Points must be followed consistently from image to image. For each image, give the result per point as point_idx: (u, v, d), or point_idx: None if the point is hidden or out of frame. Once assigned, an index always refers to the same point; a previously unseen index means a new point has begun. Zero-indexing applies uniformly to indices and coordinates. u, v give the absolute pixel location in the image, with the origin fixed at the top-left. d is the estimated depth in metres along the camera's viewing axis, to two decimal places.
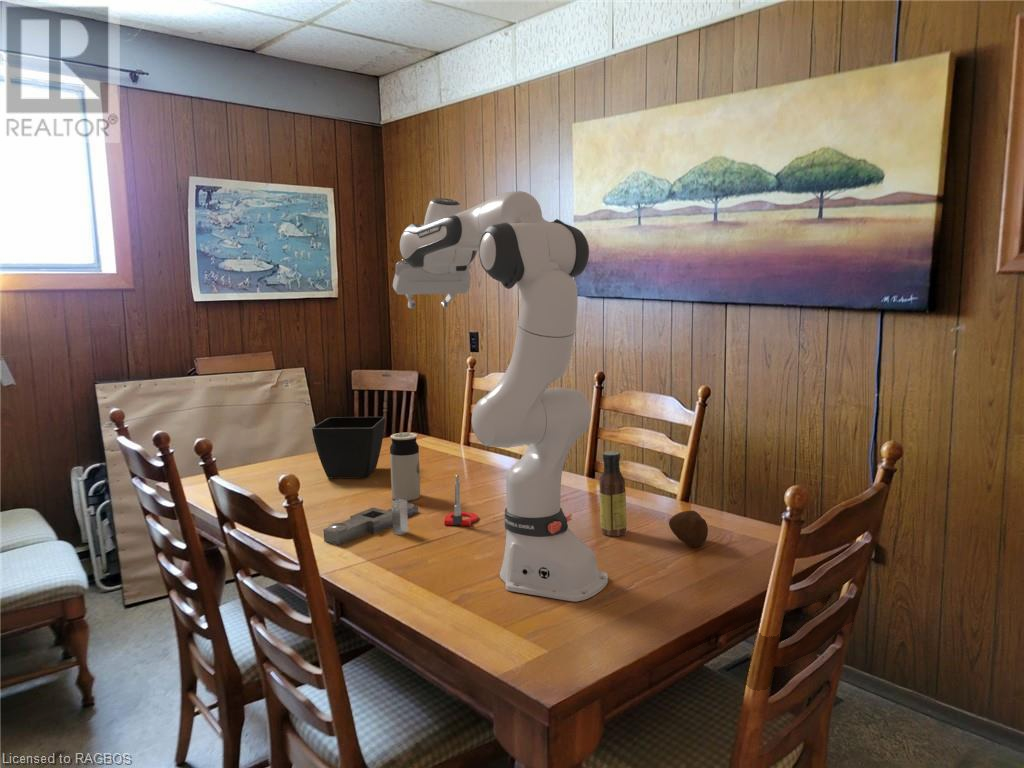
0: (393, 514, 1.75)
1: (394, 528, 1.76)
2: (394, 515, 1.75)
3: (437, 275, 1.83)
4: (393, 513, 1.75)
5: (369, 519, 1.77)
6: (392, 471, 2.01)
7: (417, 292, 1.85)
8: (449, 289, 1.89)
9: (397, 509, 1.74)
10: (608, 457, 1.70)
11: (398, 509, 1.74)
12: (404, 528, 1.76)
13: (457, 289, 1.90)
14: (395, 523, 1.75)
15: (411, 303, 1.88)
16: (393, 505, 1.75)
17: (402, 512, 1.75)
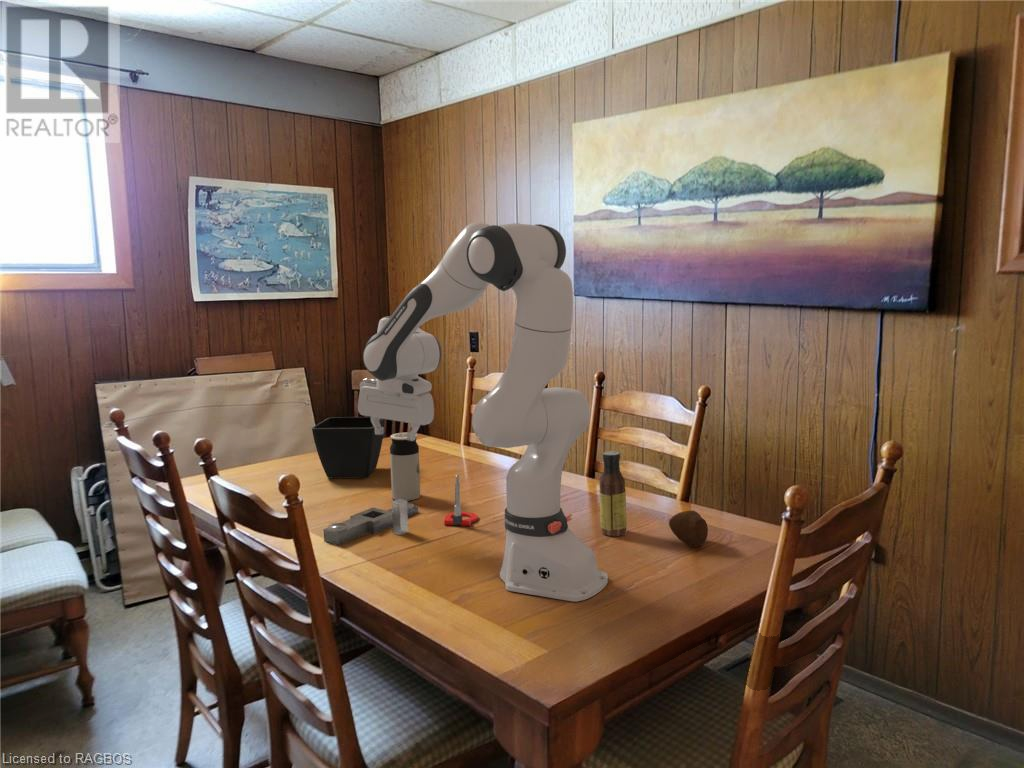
0: (394, 514, 1.75)
1: (394, 528, 1.76)
2: (394, 515, 1.75)
3: (386, 395, 1.72)
4: (393, 513, 1.75)
5: (369, 519, 1.77)
6: (392, 471, 2.01)
7: (376, 415, 1.76)
8: (405, 416, 1.72)
9: (397, 509, 1.74)
10: (608, 457, 1.70)
11: (398, 509, 1.74)
12: (404, 528, 1.76)
13: (413, 418, 1.71)
14: (395, 523, 1.75)
15: (375, 428, 1.78)
16: (393, 505, 1.75)
17: (402, 512, 1.75)
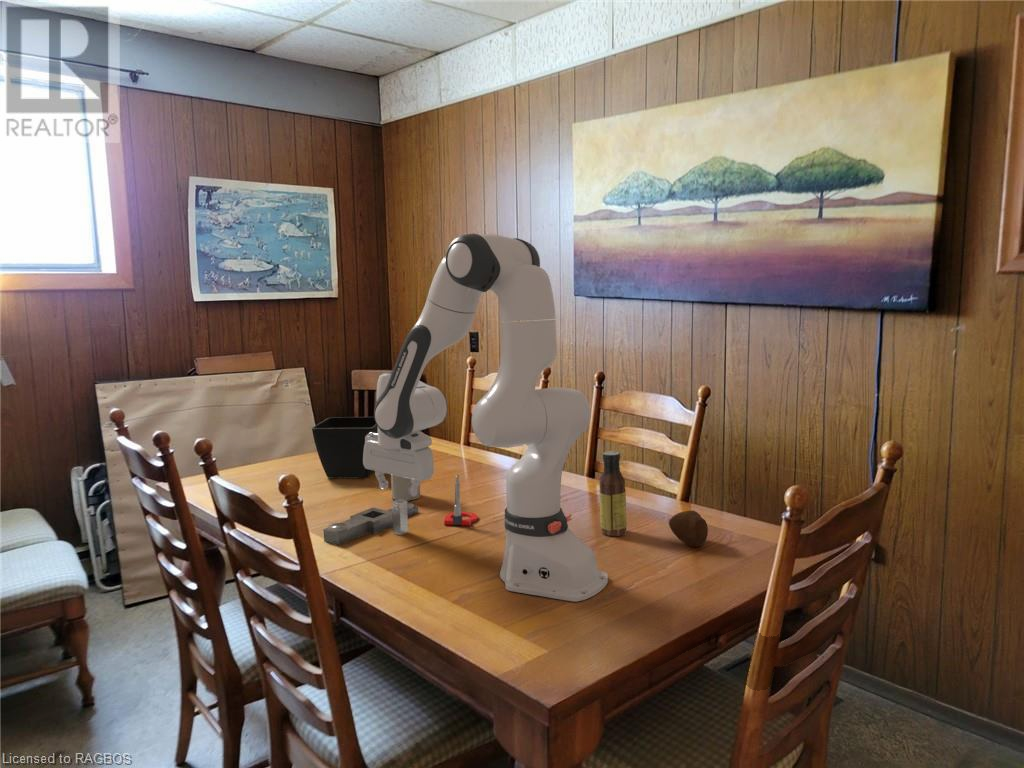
0: (394, 514, 1.75)
1: (394, 528, 1.76)
2: (394, 515, 1.75)
3: (387, 450, 1.71)
4: (393, 513, 1.75)
5: (369, 519, 1.77)
6: None
7: (379, 469, 1.76)
8: (405, 472, 1.71)
9: (397, 509, 1.74)
10: (608, 457, 1.70)
11: (398, 509, 1.74)
12: (404, 528, 1.76)
13: (413, 474, 1.69)
14: (395, 523, 1.75)
15: (379, 482, 1.77)
16: (393, 505, 1.75)
17: (402, 512, 1.75)
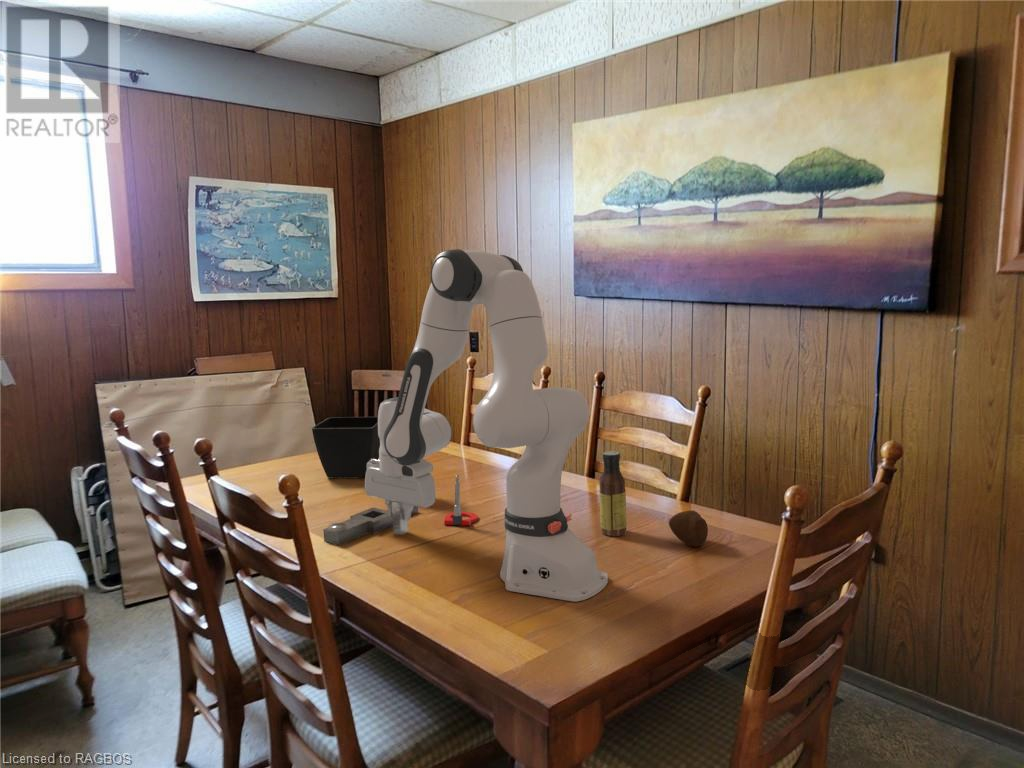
0: (394, 513, 1.75)
1: (394, 528, 1.76)
2: (394, 515, 1.75)
3: (388, 477, 1.72)
4: (393, 513, 1.75)
5: (369, 519, 1.77)
6: None
7: (380, 496, 1.76)
8: (407, 498, 1.71)
9: (397, 509, 1.74)
10: (608, 457, 1.70)
11: (398, 509, 1.74)
12: (404, 528, 1.76)
13: (414, 500, 1.70)
14: (395, 523, 1.75)
15: (389, 511, 1.76)
16: (393, 505, 1.75)
17: (402, 511, 1.75)
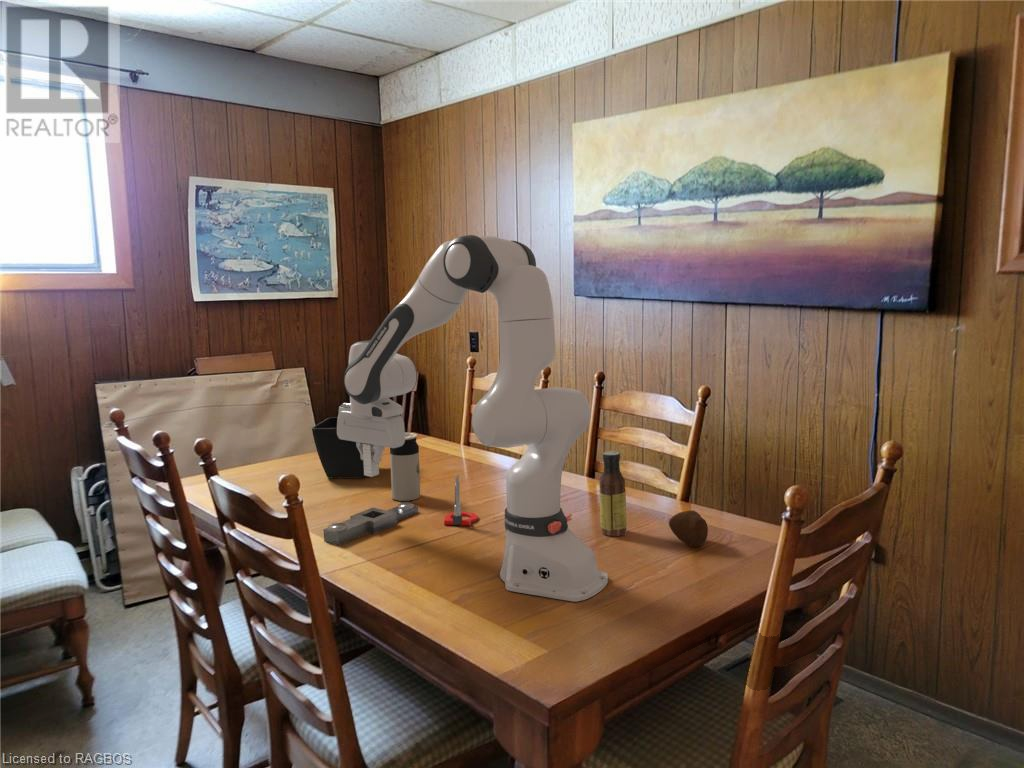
0: (365, 456, 1.78)
1: (365, 470, 1.79)
2: (365, 457, 1.78)
3: (359, 419, 1.75)
4: (364, 455, 1.78)
5: (369, 519, 1.77)
6: (392, 471, 2.01)
7: (352, 438, 1.79)
8: (377, 440, 1.74)
9: (368, 451, 1.77)
10: (608, 457, 1.70)
11: (369, 451, 1.77)
12: (375, 470, 1.79)
13: (384, 441, 1.73)
14: (366, 465, 1.78)
15: (361, 453, 1.79)
16: (364, 447, 1.78)
17: (373, 453, 1.78)
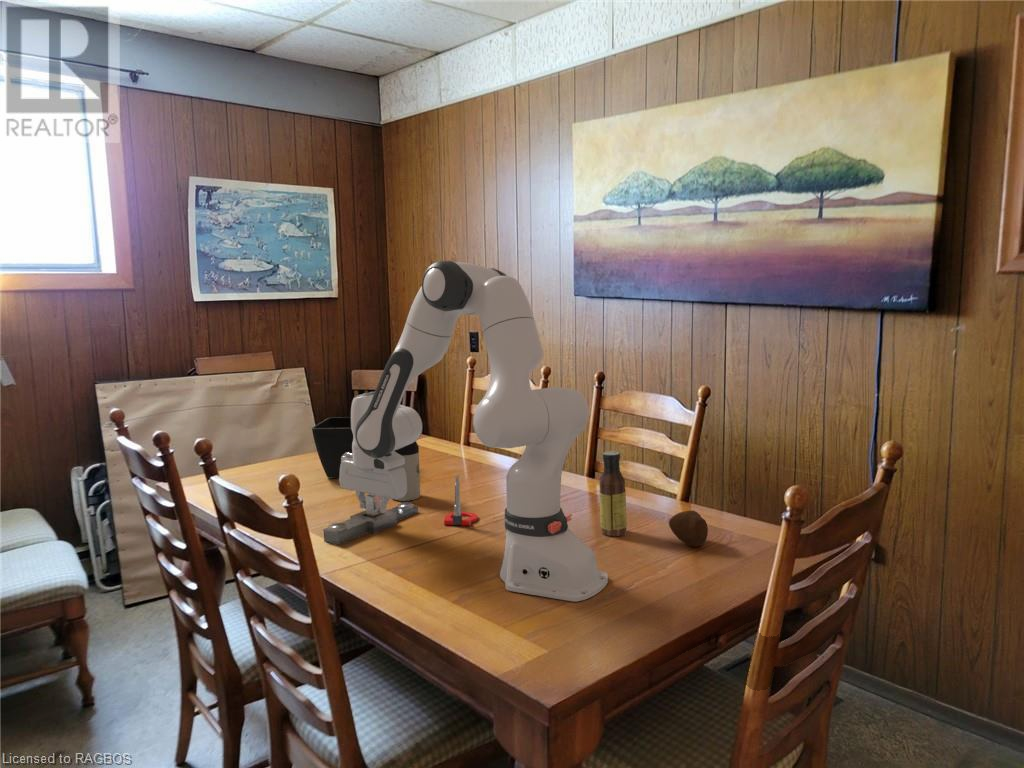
0: (367, 507, 1.80)
1: None
2: (368, 509, 1.80)
3: (361, 470, 1.77)
4: (367, 507, 1.80)
5: (369, 519, 1.77)
6: None
7: (354, 488, 1.81)
8: (379, 490, 1.76)
9: (370, 503, 1.79)
10: (608, 457, 1.70)
11: (371, 503, 1.79)
12: None
13: (386, 492, 1.75)
14: None
15: (360, 502, 1.82)
16: (367, 499, 1.80)
17: (375, 505, 1.80)
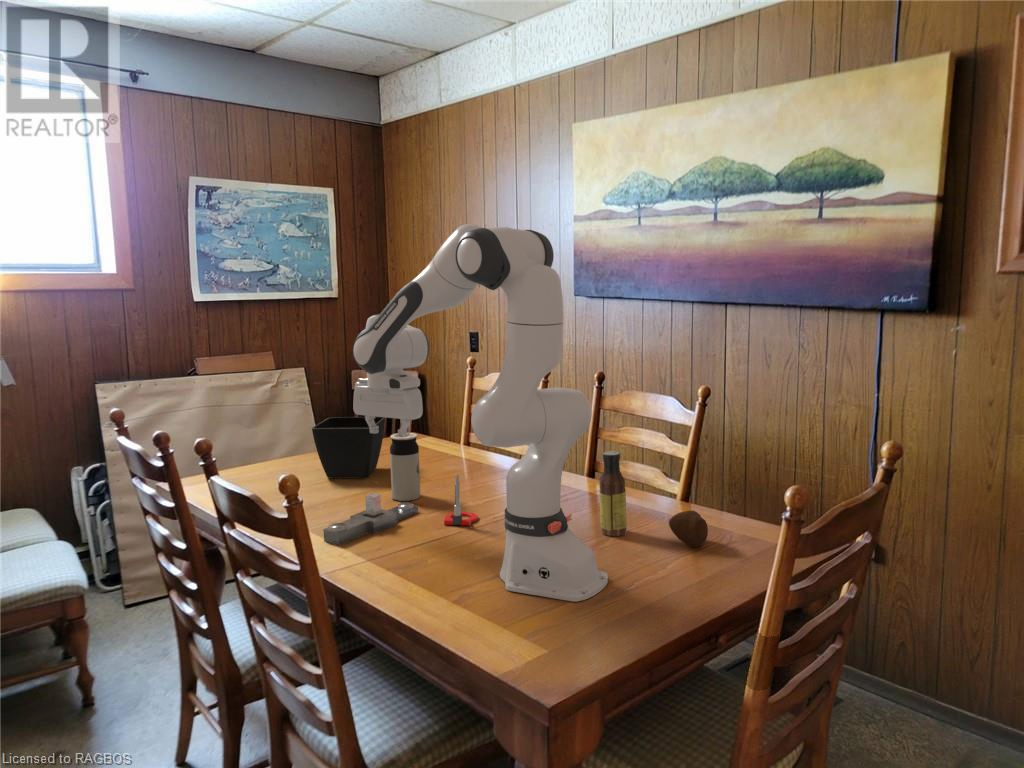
0: (367, 507, 1.80)
1: None
2: (368, 509, 1.80)
3: (376, 392, 1.76)
4: (367, 507, 1.80)
5: (369, 519, 1.77)
6: (392, 471, 2.01)
7: (369, 413, 1.80)
8: (395, 412, 1.75)
9: (370, 503, 1.79)
10: (608, 457, 1.70)
11: (371, 503, 1.79)
12: None
13: (402, 413, 1.74)
14: None
15: (370, 427, 1.81)
16: (367, 499, 1.80)
17: (375, 505, 1.80)
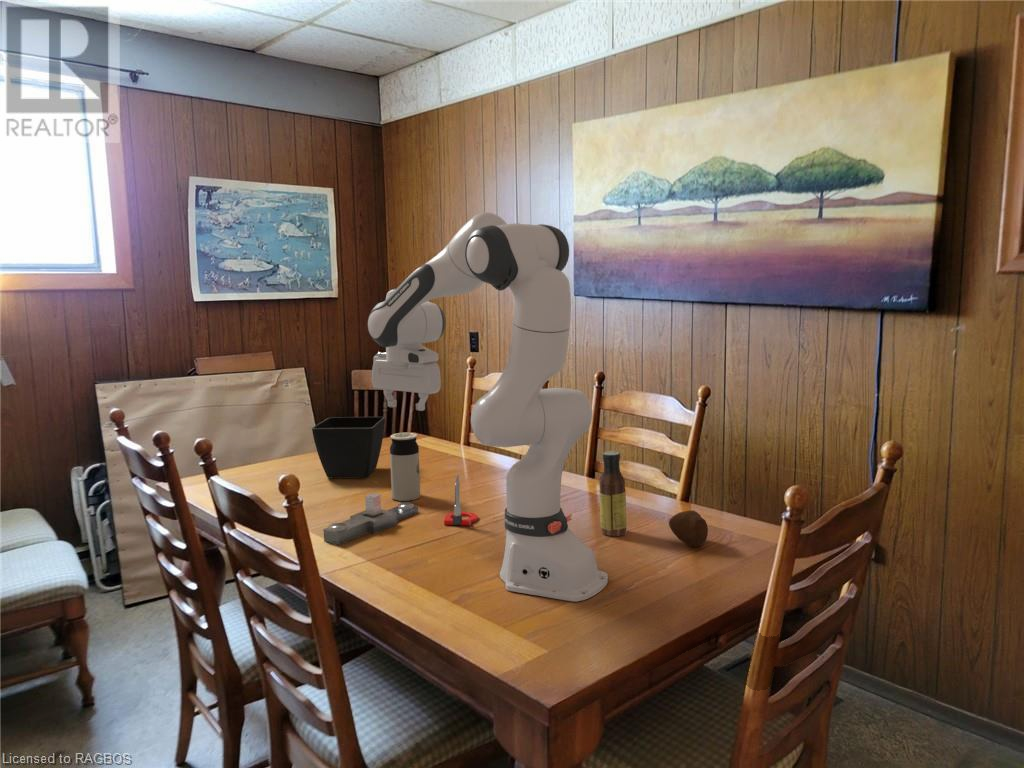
0: (367, 507, 1.80)
1: None
2: (368, 509, 1.80)
3: (395, 366, 1.77)
4: (367, 507, 1.80)
5: (369, 519, 1.77)
6: (392, 471, 2.01)
7: (387, 387, 1.81)
8: (413, 386, 1.76)
9: (370, 503, 1.79)
10: (608, 457, 1.70)
11: (371, 503, 1.79)
12: None
13: (420, 387, 1.75)
14: None
15: (388, 400, 1.83)
16: (367, 499, 1.80)
17: (375, 505, 1.80)
